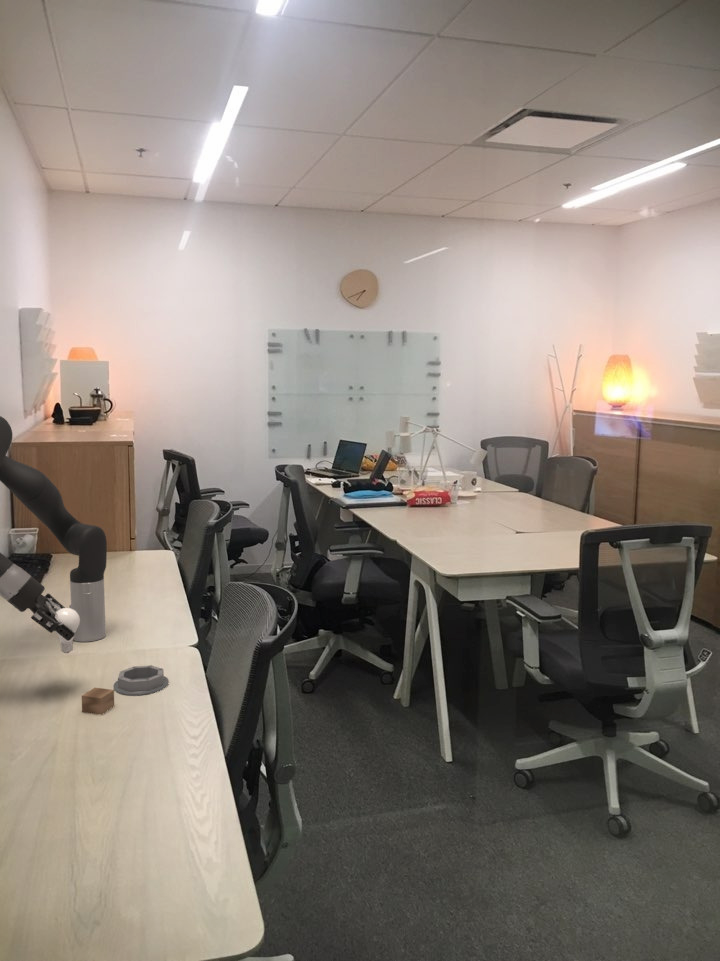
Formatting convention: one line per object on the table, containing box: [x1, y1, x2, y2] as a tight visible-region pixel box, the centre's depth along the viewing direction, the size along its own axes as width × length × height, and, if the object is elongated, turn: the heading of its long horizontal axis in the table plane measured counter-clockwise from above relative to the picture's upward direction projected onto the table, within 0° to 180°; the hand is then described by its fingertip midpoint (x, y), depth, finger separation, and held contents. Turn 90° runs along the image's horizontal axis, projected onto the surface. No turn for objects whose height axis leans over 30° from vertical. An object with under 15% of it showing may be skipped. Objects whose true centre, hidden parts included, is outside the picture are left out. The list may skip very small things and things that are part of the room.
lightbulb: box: [52, 607, 80, 654], centre depth 184 cm, size 6×6×11 cm
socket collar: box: [113, 664, 170, 697], centre depth 189 cm, size 13×13×3 cm
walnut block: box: [81, 687, 115, 716], centre depth 175 cm, size 5×5×4 cm
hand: (73, 632), depth 184 cm, fingers closed on lightbulb, 6 cm apart
